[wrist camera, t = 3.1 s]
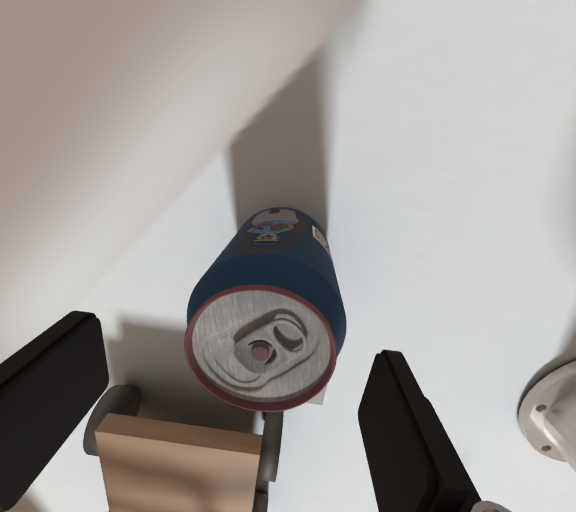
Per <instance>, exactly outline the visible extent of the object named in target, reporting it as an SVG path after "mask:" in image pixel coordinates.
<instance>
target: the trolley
mask: <svg viewBox="0 0 576 512" xmlns="http://www.w3.org/2000/svg"><path fill="white" fill-rule="evenodd" d="M139 406H140V392H139V389H138V388H136V387H131V386H124V385H115V386H113V387H111V388H110V389H109V390H108V391H107V392H106V393H105V394H104V395H103V396H102V397H101V399H100V400H99V401H98V403H97V405H96V406H95V408H94V410H93V412H92V414H91V416H90V418H89V421H88V423H87V426H86V429H85V433H84V439H83V447H84V451H85V453H86V454H88V455H94V456H99V458H100V463H101V468H102V473H103V479H104V484H105V489H106V495H107V500H108V505H109V512H267V506H268V494H264V493H257V492H255V486H256V479H258V480H265V481H272V482H275V480H276V475H277V469H278V462H279V454H280V446H281V437H282V426H283V411H276V412H266V416H265V423H264V430H263V435H258V434H251V433H244V432H237V431H230V430H223V429H216V428H209V427H203V426H196V425H189V424H182V423H175V422H168V421H161V420H154V419H148V418H141V417H137V414H138V411H139ZM254 493H255V494H254ZM253 500H254V501H253Z"/></svg>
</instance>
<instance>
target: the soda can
mask: <svg viewBox="0 0 576 512" xmlns="http://www.w3.org/2000/svg"><path fill="white" fill-rule="evenodd" d="M187 326H188V327H187V330H186V334H185V342H184V346H185V355H186V359H187V362H188V365H189V367H190V369H191V371H192V373H193V374H194V376H195V377H196V379H197V380H198V381H199V382H200V384H201V385H202V386H203V387H204V388H206V389H207V390H208V391H209V392H210V393H212V394H213V395H214V396H216V397H217V398H219V399H221V400H223V401H225V402H227V403H229V404H231V405H234V406H237V407H240V408H243V409H248V410H253V411H262V412H276V411H284V410H288V409H291V408H294V407H297V406H299V405H302V404H304V403H305V402H307V401H309V400H310V399H312V398H313V397H315V396H316V395H317V394H318V393H320V392H321V391H322V390H323V388H324V387H325V386H326V385H327V383H328V382H329V380H330V378H331V377H332V374H333V372H334V369H335V365H336V359H337V356H338V355H339V353H340V351H341V348H342V346H343V343H344V340H345V335H346V315H345V310H344V306H343V302H342V298H341V294H340V290H339V286H338V282H337V278H336V274H335V270H334V266H333V262H332V258H331V254H330V249H329V245H328V241H327V238H326V236H325V234H324V232H323V230H322V229H321V227H320V226H319V225H318V224H317V223H316V222H315V221H314V220H313V219H312V218H311V217H309V216H308V215H306V214H304V213H302V212H300V211H298V210H294V209H290V208H271V209H267V210H264V211H261V212H259V213H257V214H255V215H254V216H252V217H251V218H250V219H249V220H248V221H247V222H246V223H245V224H244V225H243V226H242V228H241V229H240V230H239V231H238V233H237V234H236V235H235V236H234V238H233V239H232V240H231V241H230V243H229V244H228V245H227V247H226V248H225V249H224V250H223V252H222V253H221V254H220V255H219V257H218V258H217V259H216V260H215V262H214V263H213V264H212V265H211V267H210V268H209V269H208V270H207V272H206V273H205V274H204V275H203V277H202V278H201V279H200V281H199V282H198V283H197V285H196V286H195V288H194V290H193V292H192V294H191V297H190V300H189V303H188V309H187Z"/></svg>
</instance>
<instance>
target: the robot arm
mask: <svg viewBox="0 0 576 512" xmlns="http://www.w3.org/2000/svg"><path fill="white" fill-rule="evenodd" d="M108 383H109V374H108V368H107V361H106V355H105V348H104V342H103V335H102V329H101V323H100V320H99V319H98V318H96V315H95V314H94V313H89V312H81V311H72V312H70V313H69V314H67V315H66V316H65V317H63V318H62V319H61V320H59V321H58V322H56V323H55V324H54V325H52V326H51V327H50V328H48V329H47V330H46V331H44V332H43V333H42V334H40V335H39V336H38V337H36V338H35V339H33V340H32V341H31V342H29V343H28V344H27V345H25V346H24V347H23V348H21V349H20V350H19V351H17V352H16V353H14V354H13V355H12V356H10V357H9V358H8V359H6V360H5V361H4V362H2V363H1V364H0V512H4V511H7V510H9V509H11V508H12V507H13V506H14V505H15V504H16V503H17V502H18V501H19V499H20V498H21V497H22V496H23V494H24V493H25V492H26V490H27V489H28V488H29V487H30V485H31V484H32V483H33V482H34V480H35V479H36V478H37V476H38V475H39V474H40V473H41V471H42V470H43V469H44V467H45V466H46V465H47V464H48V462H49V461H50V460H51V459H52V457H53V456H54V455H55V453H56V452H57V451H58V450H59V448H60V447H61V446H62V444H63V443H64V442H65V441H66V439H67V438H68V437H69V436H70V434H71V433H72V432H73V430H74V429H75V428H76V427H77V425H78V424H79V423H80V422H81V420H82V419H83V418H84V416H85V415H86V414H87V413H88V411H89V410H90V409H91V407H92V406H93V405H94V404H95V402H96V401H97V400H98V399H99V397H100V396H101V395H102V393H103V392H104V391H105V389H106V388H107V386H108ZM358 420H359V425H360V429H361V434H362V438H363V443H364V447H365V452H366V456H367V461H368V465H369V469H370V474H371V478H372V483H373V487H374V492H375V496H376V501H377V505H378V509H379V512H511V511H510V510H508V509H506V508H505V507H503V506H501V505H499V504H496V503H494V502H491V501H482V500H481V498H480V496H479V495H478V493H477V491H476V489H475V487H474V485H473V483H472V481H471V479H470V477H469V475H468V473H467V471H466V470H465V468H464V466H463V464H462V462H461V460H460V458H459V456H458V454H457V452H456V450H455V448H454V446H453V445H452V443H451V441H450V439H449V437H448V435H447V433H446V431H445V429H444V427H443V425H442V423H441V422H440V420H439V418H438V416H437V414H436V412H435V410H434V408H433V406H432V404H431V403H430V401H429V400H428V399H427V398H426V397H424V395H423V393H422V391H421V389H420V387H419V385H418V383H417V381H416V379H415V377H414V375H413V373H412V371H411V369H410V367H409V365H408V363H407V362H406V360H405V358H404V356H403V354H402V353H401V352H399V351H391V350H382V352H381V354H379V353H377V354H376V356H375V359H374V362H373V365H372V368H371V371H370V374H369V378H368V381H367V384H366V387H365V390H364V393H363V396H362V399H361V403H360V406H359V409H358ZM518 422H519V427H520V430H521V432H522V433H523V435H524V437H525V438H526V439H527V440H528V442H529V443H530V444H531V446H532V447H533V448H534V449H535V450H537V451H538V452H539V453H541V454H543V455H545V456H547V457H549V458H552V459H555V460H559V461H562V462H568V463H569V464H570V466H571V467H572V468H573V469H574V470H575V472H576V361H574V362H571V363H569V364H566V365H564V366H562V367H560V368H558V369H556V370H555V371H553V372H551V373H549V374H548V375H547V376H545V377H544V378H543V379H541V380H540V381H539V382H538V383H537V384H536V385H535V386H534V387H533V388H532V389H531V390H530V391H529V392H528V394H527V395H526V397H525V398H524V400H523V402H522V405H521V407H520V410H519V416H518Z"/></svg>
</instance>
